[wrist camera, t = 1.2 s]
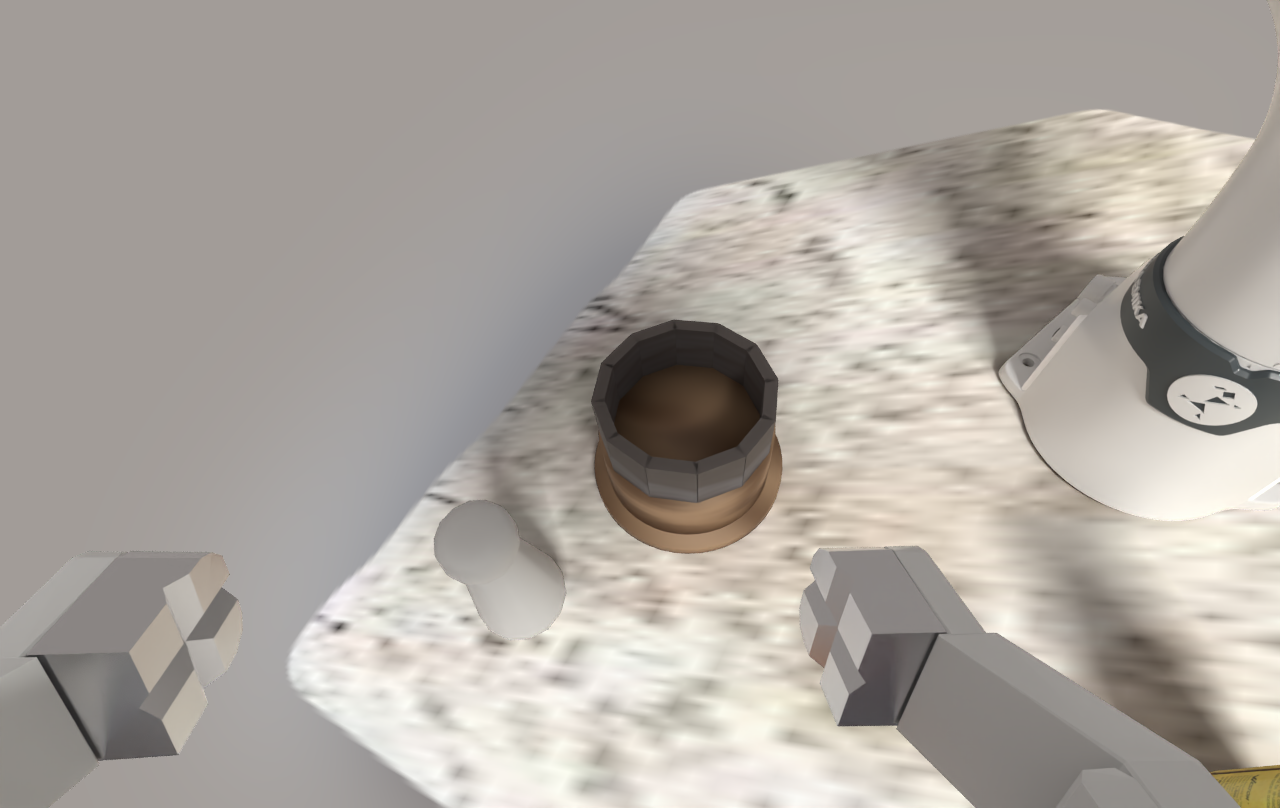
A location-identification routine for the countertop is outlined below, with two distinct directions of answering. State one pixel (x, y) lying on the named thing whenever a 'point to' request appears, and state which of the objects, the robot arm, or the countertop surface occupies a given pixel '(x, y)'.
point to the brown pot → (687, 436)
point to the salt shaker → (500, 570)
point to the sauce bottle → (1252, 786)
